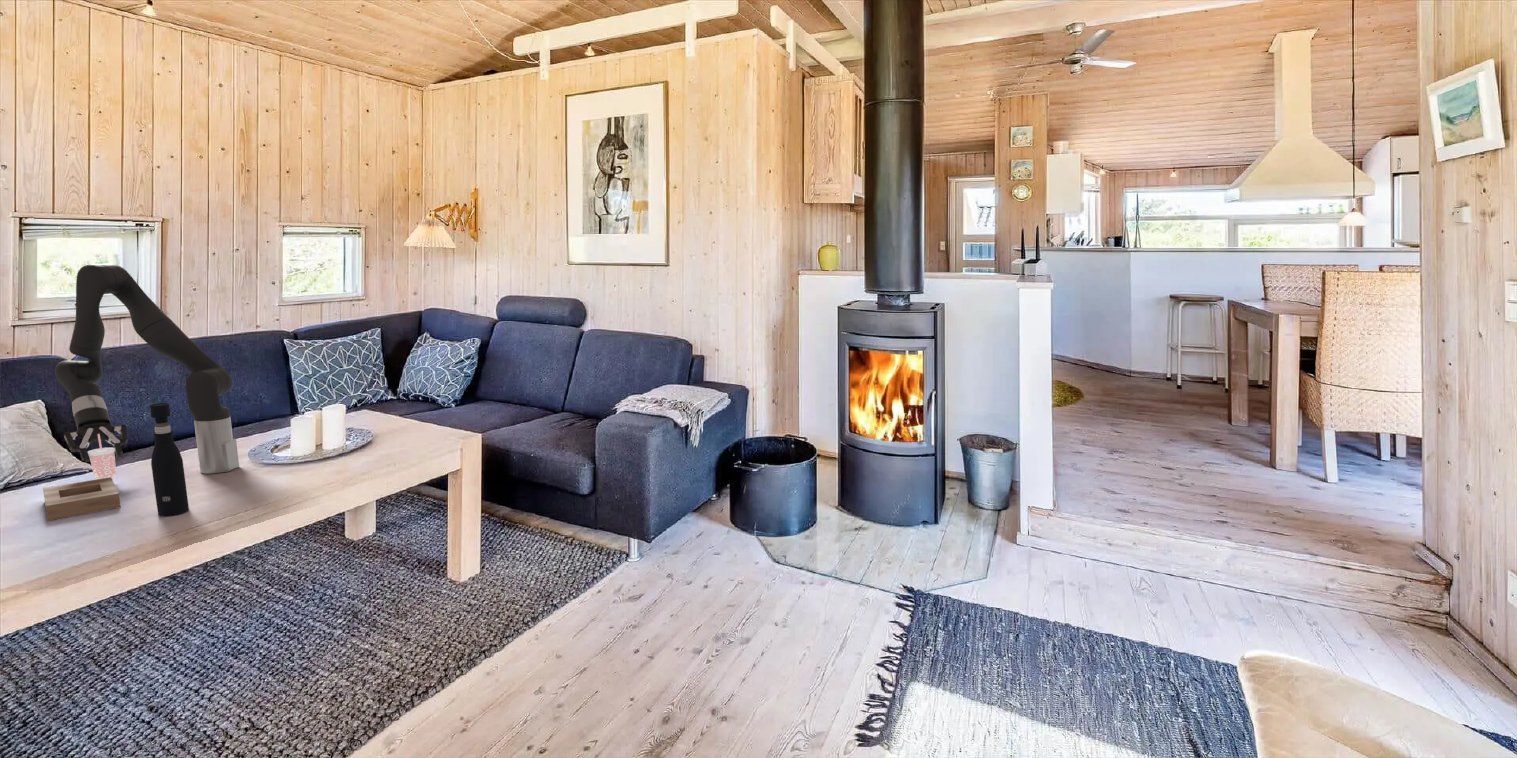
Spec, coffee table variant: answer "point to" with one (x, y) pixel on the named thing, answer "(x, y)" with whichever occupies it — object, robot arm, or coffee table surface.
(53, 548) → the coffee table surface
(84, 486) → the wooden cup holder
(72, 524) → the coffee table surface
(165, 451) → the black water bottle
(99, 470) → the beverage cup
